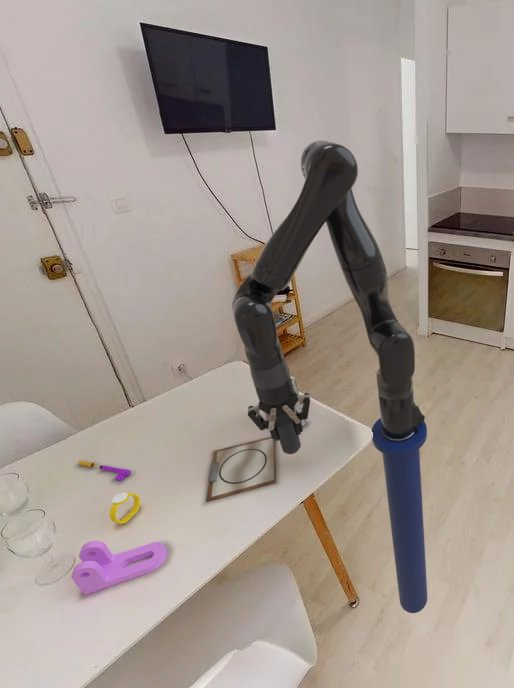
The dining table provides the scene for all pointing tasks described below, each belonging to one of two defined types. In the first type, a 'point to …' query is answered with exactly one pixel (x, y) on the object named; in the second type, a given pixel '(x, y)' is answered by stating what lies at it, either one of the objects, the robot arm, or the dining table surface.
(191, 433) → the dining table surface
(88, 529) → the dining table surface
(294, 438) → the dark gray cylinder
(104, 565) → the bracket
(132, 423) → the dining table surface
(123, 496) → the watch
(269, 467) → the clipboard
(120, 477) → the purple pen tool
